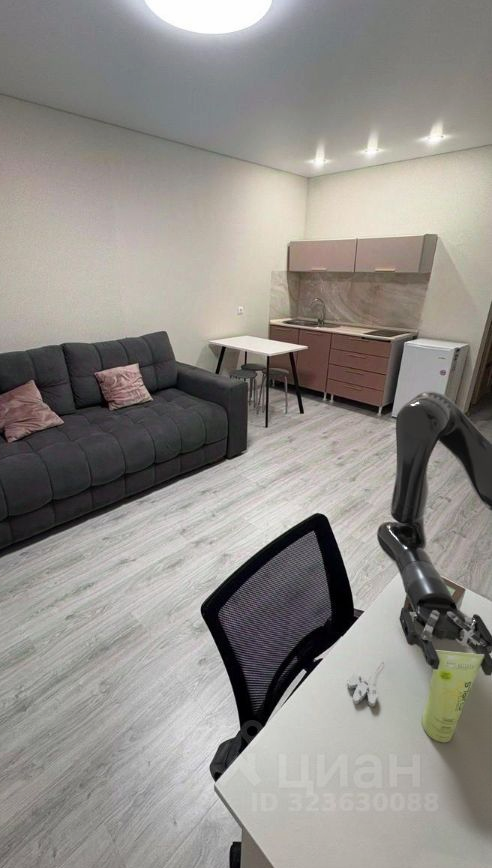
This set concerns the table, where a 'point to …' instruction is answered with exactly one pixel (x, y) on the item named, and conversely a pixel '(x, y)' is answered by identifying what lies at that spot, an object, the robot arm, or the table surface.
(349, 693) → the table surface
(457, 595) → the wooden display stand
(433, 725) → the tube
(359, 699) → the white lobed piece
